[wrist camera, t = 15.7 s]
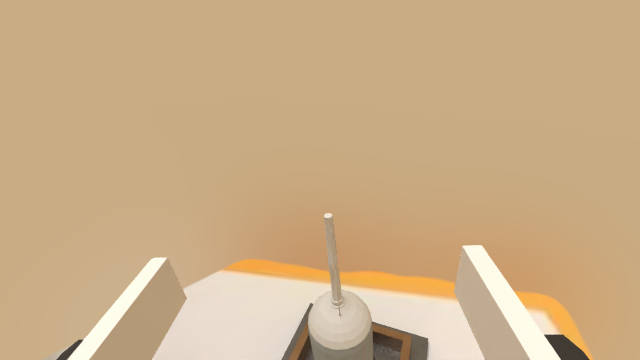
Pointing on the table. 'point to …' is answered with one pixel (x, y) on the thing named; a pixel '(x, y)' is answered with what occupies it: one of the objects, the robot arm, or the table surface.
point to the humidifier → (339, 316)
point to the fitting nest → (388, 343)
